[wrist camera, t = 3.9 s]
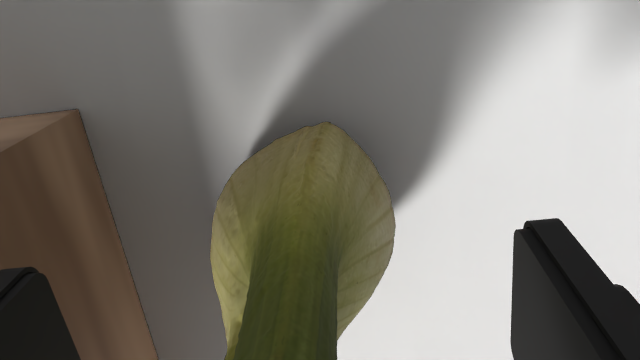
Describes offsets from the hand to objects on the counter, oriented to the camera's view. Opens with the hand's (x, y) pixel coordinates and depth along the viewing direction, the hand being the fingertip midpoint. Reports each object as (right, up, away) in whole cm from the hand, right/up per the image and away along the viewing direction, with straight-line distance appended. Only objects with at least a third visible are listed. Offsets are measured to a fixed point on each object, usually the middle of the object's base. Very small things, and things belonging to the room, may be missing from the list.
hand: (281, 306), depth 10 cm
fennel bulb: (0, +2, +6) cm, 6 cm away
